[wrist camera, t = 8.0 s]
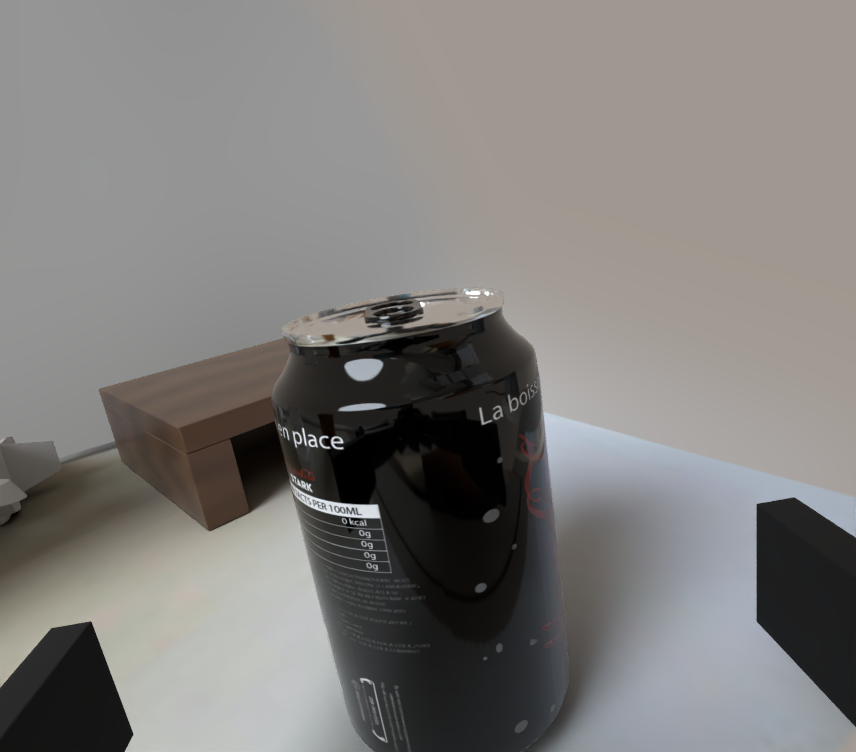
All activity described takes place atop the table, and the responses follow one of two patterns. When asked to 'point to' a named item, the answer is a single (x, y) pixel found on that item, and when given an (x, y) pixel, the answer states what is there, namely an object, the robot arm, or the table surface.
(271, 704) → the table surface
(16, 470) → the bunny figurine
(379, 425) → the beverage can
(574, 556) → the table surface
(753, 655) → the table surface
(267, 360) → the shelf
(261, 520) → the table surface
